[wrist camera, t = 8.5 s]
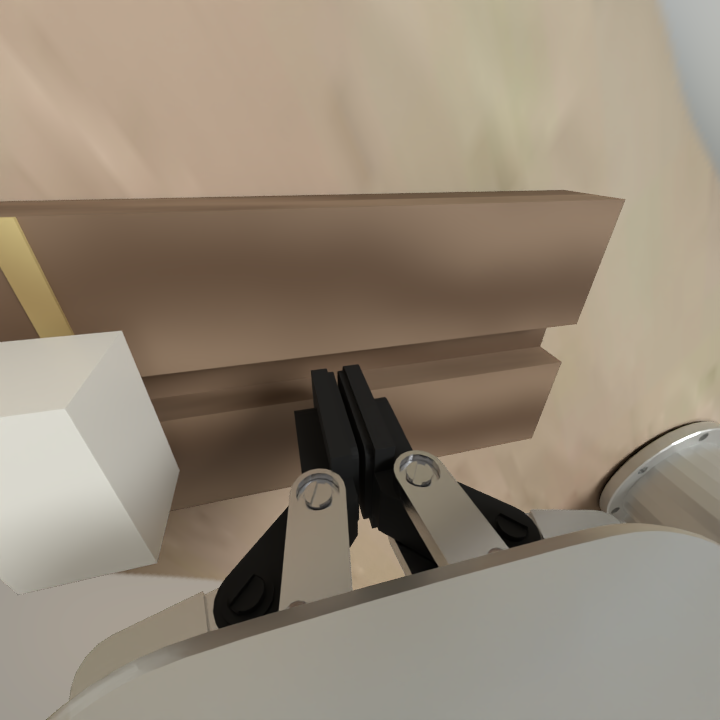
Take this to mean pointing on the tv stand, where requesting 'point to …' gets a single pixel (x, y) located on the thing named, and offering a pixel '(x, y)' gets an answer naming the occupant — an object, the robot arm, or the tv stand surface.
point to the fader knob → (78, 462)
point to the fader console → (311, 310)
